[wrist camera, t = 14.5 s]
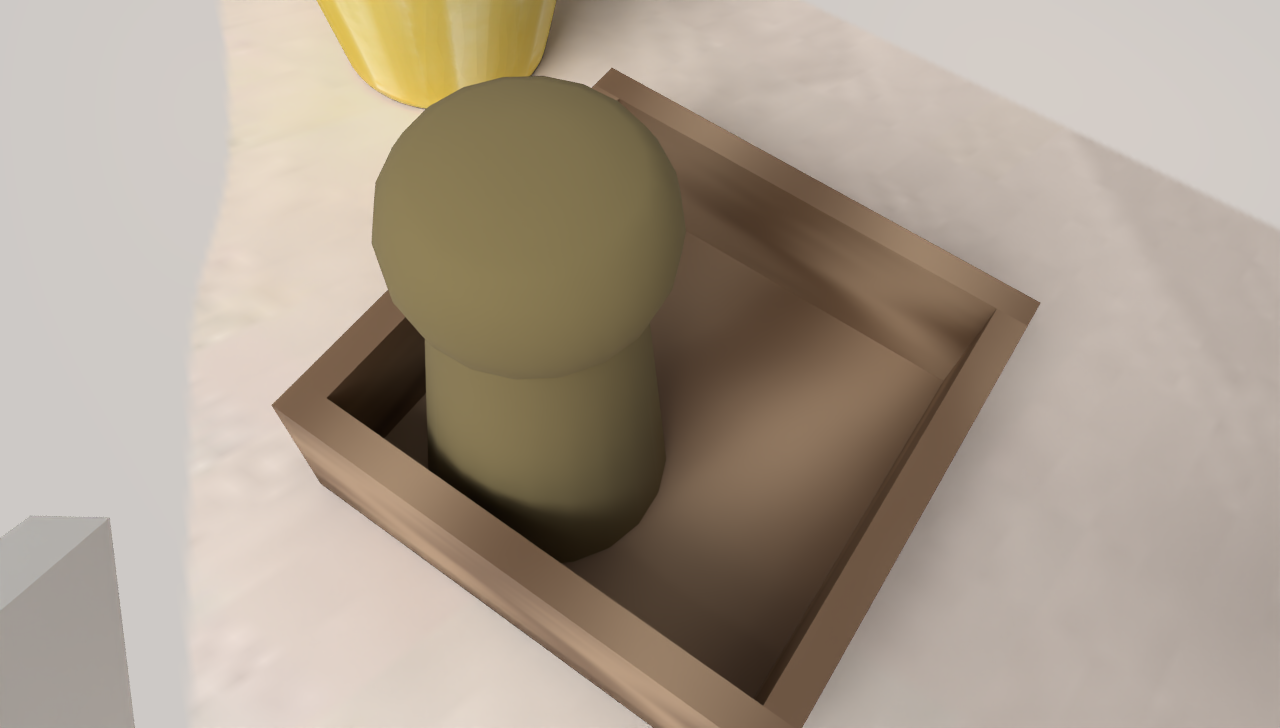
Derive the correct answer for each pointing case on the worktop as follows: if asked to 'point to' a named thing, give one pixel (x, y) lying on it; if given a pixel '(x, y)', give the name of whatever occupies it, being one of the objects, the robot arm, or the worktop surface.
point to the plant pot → (438, 42)
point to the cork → (536, 300)
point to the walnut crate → (712, 441)
